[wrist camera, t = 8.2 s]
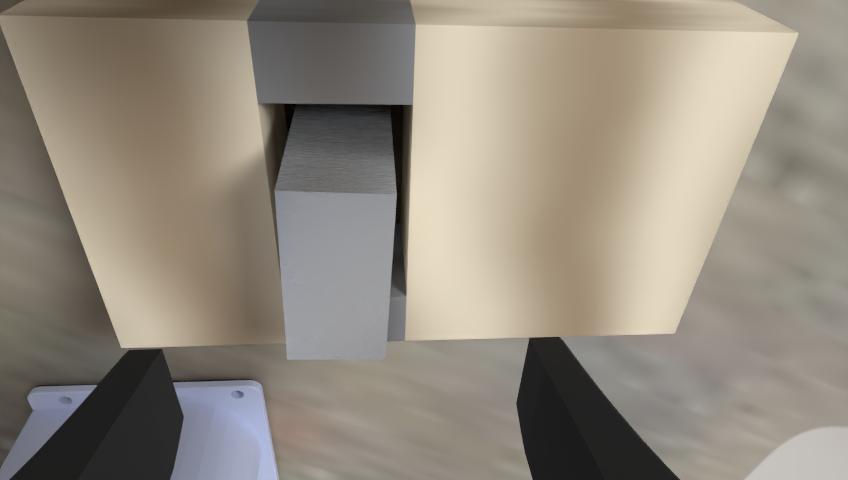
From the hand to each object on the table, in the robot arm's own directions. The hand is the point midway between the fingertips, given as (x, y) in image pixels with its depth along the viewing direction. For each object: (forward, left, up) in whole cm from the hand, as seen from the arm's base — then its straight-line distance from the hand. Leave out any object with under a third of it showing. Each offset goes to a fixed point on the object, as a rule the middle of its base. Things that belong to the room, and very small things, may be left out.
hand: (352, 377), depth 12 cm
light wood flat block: (+2, +1, -9) cm, 10 cm away
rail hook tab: (0, 0, -9) cm, 9 cm away
